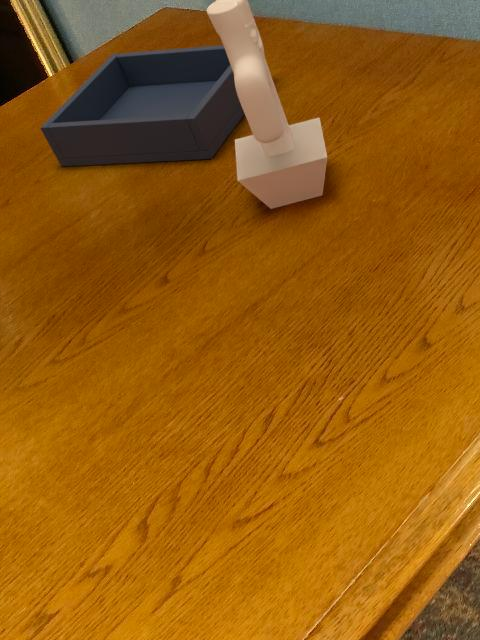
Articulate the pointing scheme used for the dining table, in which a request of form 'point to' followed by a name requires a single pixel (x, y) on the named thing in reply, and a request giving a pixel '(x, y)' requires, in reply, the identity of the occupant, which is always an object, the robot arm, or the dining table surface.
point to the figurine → (267, 118)
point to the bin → (148, 109)
